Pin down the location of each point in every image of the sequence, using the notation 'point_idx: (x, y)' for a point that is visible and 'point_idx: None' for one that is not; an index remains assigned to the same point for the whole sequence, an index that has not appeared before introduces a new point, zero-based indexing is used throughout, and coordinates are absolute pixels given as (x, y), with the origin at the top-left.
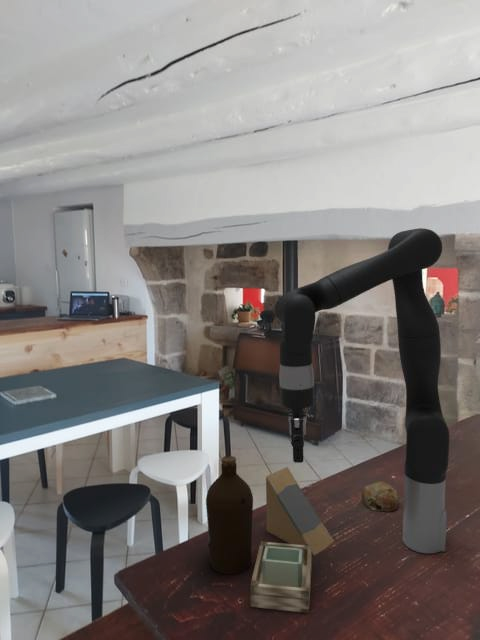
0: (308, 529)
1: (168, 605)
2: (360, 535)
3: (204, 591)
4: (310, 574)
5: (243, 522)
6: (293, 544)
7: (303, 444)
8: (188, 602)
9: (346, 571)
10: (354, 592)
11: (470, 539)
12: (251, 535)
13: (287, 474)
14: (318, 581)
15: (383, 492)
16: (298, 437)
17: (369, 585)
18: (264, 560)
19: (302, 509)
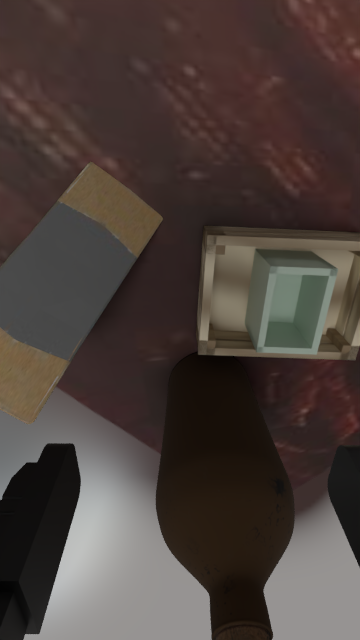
0: (113, 241)
1: (321, 447)
2: (40, 69)
3: (291, 409)
4: (287, 234)
5: (266, 435)
6: (205, 282)
7: (63, 460)
8: (316, 425)
9: (223, 134)
10: (305, 120)
11: None
12: (217, 385)
13: None
14: (263, 210)
15: None
16: (51, 550)
17: (279, 71)
18: (316, 350)
19: (64, 269)
